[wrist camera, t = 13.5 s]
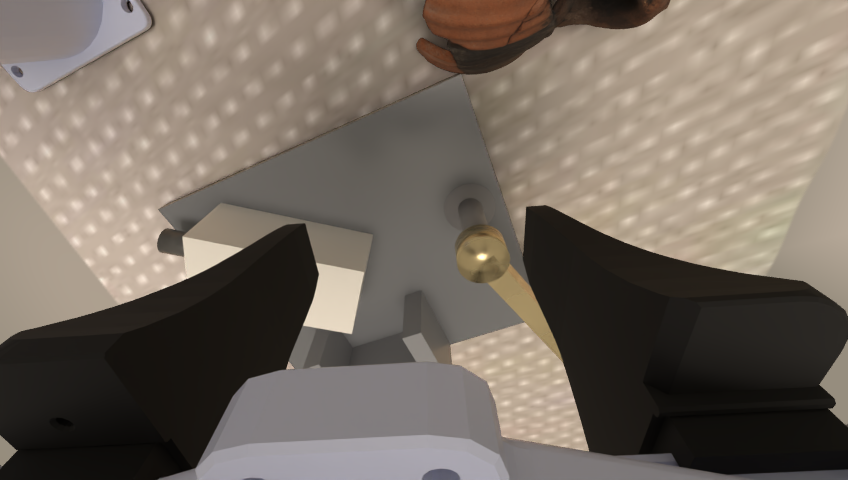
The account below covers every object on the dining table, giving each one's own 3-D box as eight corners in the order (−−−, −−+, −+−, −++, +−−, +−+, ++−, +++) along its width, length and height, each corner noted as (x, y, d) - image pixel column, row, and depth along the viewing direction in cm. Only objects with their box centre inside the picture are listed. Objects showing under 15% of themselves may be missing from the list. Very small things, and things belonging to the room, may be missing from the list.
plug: (184, 257, 23) (142, 297, 20) (177, 193, 21) (130, 226, 18) (361, 291, 25) (351, 334, 21) (373, 234, 23) (364, 272, 19)
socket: (164, 205, 22) (106, 245, 18) (460, 72, 19) (470, 85, 15) (312, 380, 30) (295, 435, 26) (540, 310, 27) (562, 362, 22)
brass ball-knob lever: (574, 378, 23) (582, 398, 22) (444, 243, 18) (446, 259, 17) (610, 360, 22) (621, 380, 21) (485, 214, 17) (489, 229, 16)
